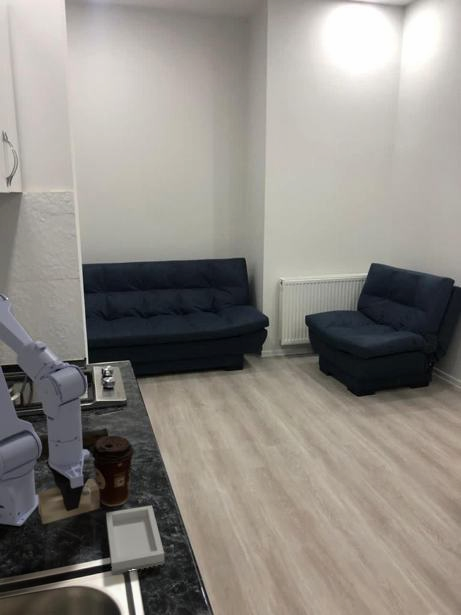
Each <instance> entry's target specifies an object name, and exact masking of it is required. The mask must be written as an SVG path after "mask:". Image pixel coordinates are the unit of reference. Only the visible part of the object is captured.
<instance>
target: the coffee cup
mask: <svg viewBox="0 0 461 615" xmlns="http://www.w3.org/2000/svg"><path fill="white" fill-rule="evenodd" d="M90 455H92V457H93V459H94V460H93V468H94V475H95V476H94V477H95V483H96V484H97V486H98V488H99V502H100V503H101V504H102V505H105V506H107V507H118V506H122V505H123V504H125V503H126V502H127V501H128V500H129V497H130V489H131V488H130V486H131V475H132V474H131V470H132V458H133V455H134V448H133V446H132V444H130V441H129V440H128V439H127V438H125V437H122V436H119V435H109V436H107V437H102V438H100V439H99V440H98V441H97V442H96V444H95V445H93V447H92V448H91V450H90Z"/></svg>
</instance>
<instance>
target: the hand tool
mask: <svg viewBox="0 0 461 615" xmlns="http://www.w3.org/2000/svg"><path fill="white" fill-rule="evenodd" d="M107 436H110V435H109V431H108V428H107V427H104V428H102V429H98V430H91V431H89V430H88V431H82V445H83V447H89V446H94V445H95V444H96V442H97V441H98V440H99V439H100V438H102V437H107ZM38 437H39V439H40V441H41V444H42V452H41V455H49V444H48V434H43V435H38Z"/></svg>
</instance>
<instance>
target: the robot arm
mask: <svg viewBox="0 0 461 615" xmlns="http://www.w3.org/2000/svg"><path fill="white" fill-rule="evenodd" d="M14 311H15V310H14V307H13V303H12V302H11V301H10V299H9V298H8V297H7V296H6V295H5V294H4V293H0V341H2V342H3V343H4V344H5V345H6V346H8V347H9V348H10V349H11V350H12V351H13V352H15V354H16V355H17V356H16V363H17V365H18V366H19V367H20V369H21V370H22V371H23V372H24V373H25V374H26V375H27V376H28V377H29V378H30V379H31V380H32V381H33V383H35V385H36V386H37V387H36V392H37V395H38V398H39V400H40V401H41V405H42V411H43V413H44V415H46V426H47V435H48V444H49V454H48V460H46V465H47V467H48V469H49V470H50V472H51V473H52V476H53V480H54V483H55V485H56V487H58V488H59V489H60V491H61V494H62V498H63V502H64V505H65V508H66V510H67V511H70V510H74V509H77V508H78V507H79V503H80V499H81V494H82V490H83V488H84V486H85V484H86V482H87V481H88V479H90V478H89V477H90V476H89V473H88V471H87V470H85V471H83V469H84V463H85V460H86V459H88V458H89V457H90V455H91V452H90V451H89V450H88V449H85V448H83V447H84V446H83V445H82V432H83V431H82V430H83V428H82V427H83V426H82V406H81V404H82V403H81V397H83V396H84V395H85V394H86V392H87V390H88V382H87V378H86V376H85V373H84V372H83V371H82V370H81V368H80V367H79V366H78V365H75V364H69V363H68V362H63V360H61V359H60V358H59V357H58V356H57V354H55V353H54V352H53V350H51V348H49V347H48V345H47V344H45V343H44V342H43V341H40V340H35V341H34V340H33V339H32V337H31V336H30V335H29V333H27V331H26V330H25V329H24V328H23V326H22V325H21V324H20V323H19V321H18V320H17V319H16V318H15V316H14V315H15V312H14ZM38 436H39V435H38V434H37V432H36V431H35V428H34V427H33V424H32V423H31V422H29V421H27V420H23V419H20V418H19V417H18V415H17V411H16V409H15V406H14V403H13V400H12V397H11V394H10V391H9V387H8V384H7V382H6V378H5V375H4V372H3V370H2V366H1V365H0V524H1V525H11V526H17V527H20V526H22V525H24V524H25V522H26V521H27V520H28V519H29V517H30V516H31V515H32V513H34V511H35V510H36V509H37V508H38V494H36V484H35V472H34V471H35V470H34V467H35V466H36V465H38V464H37V463H38V462H37V459H39V458H40V457H41V455H42V454H41V452H42V444H41V441H40V439H39V437H38Z"/></svg>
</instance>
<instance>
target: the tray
mask: <svg viewBox="0 0 461 615" xmlns="http://www.w3.org/2000/svg"><path fill="white" fill-rule="evenodd" d="M154 512H155V511H154V508H153V505H145V506H140V507H132V508H127V509H121V510H115V511H109V512H108V511H107V512H106V513H105V514H106V515H105V517H106V518H105V520H106V530H107V531H106V532H107V540H108V541H107V542H108V547H109V550H108V551H109V556H110V557H109V558H111V559H110V566H111V567H112V568H111V574H112V576H116V575H119V574H125V573H124V572H126V571H128V570H132V569H141V570H145V569H144V568H146V569H150V568H149V567H151V568H154V567H153V566H156V567H159V566H158V565H161V566H164V565H165V551H164V547H163V544H162V539H161V535H160V532H159V528H158V524H157V520H156V516H155V513H154ZM163 564H164V565H163ZM126 573H127V572H126Z"/></svg>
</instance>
